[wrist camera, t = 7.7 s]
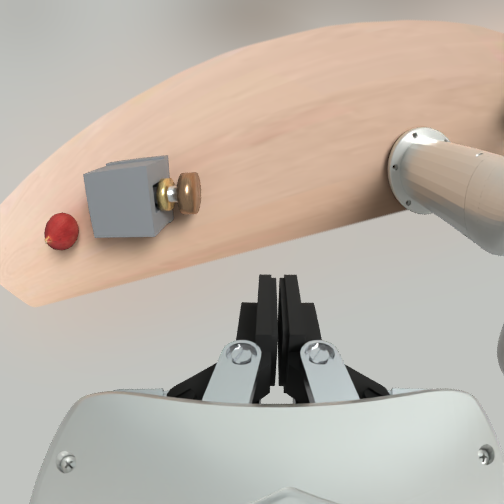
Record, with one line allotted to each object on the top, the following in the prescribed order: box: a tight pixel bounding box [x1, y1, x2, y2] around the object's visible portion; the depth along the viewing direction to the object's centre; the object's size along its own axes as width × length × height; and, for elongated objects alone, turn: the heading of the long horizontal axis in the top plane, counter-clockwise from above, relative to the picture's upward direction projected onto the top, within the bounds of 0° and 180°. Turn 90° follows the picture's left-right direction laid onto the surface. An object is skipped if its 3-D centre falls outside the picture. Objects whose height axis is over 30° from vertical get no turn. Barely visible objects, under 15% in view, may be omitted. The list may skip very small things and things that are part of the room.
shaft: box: [153, 172, 201, 214], centre depth 33 cm, size 13×5×5 cm, turn 91°
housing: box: [83, 155, 174, 238], centre depth 33 cm, size 9×9×7 cm
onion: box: [45, 213, 79, 250], centre depth 35 cm, size 6×6×8 cm
